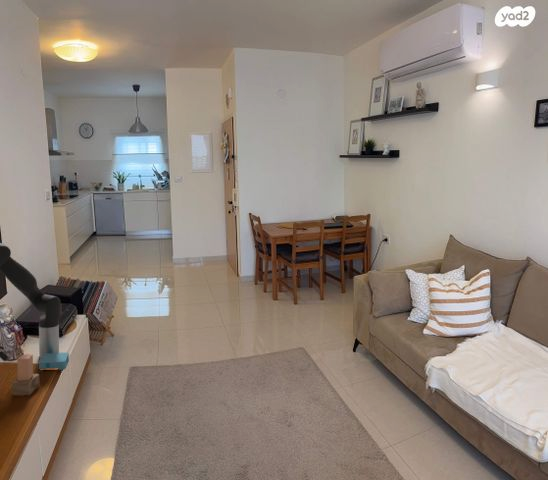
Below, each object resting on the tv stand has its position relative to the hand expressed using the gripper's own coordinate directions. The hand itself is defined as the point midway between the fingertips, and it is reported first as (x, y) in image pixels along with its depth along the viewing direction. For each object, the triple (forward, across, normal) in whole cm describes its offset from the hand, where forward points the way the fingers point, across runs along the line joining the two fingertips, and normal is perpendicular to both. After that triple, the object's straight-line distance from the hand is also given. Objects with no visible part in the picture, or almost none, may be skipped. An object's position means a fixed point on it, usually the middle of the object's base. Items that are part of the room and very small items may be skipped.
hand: (2, 363), depth 193 cm
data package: (+12, +26, +3) cm, 28 cm away
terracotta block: (+12, 0, -2) cm, 12 cm away
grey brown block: (+16, 0, +2) cm, 16 cm away
